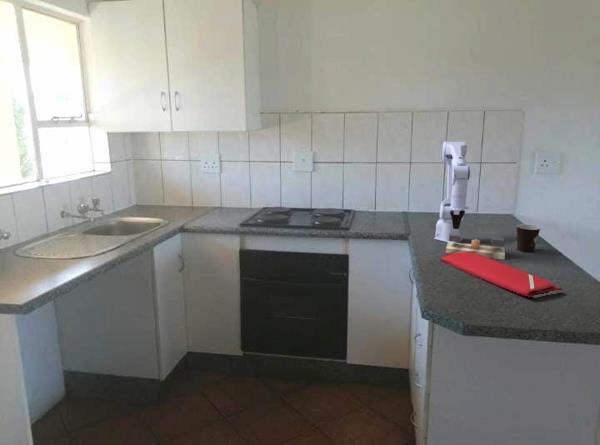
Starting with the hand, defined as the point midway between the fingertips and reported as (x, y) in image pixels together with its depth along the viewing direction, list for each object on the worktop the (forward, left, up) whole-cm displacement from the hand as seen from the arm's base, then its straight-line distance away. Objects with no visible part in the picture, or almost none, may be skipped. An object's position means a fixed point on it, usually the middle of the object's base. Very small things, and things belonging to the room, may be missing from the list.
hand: (456, 228), depth 191 cm
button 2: (+14, +8, -5) cm, 17 cm away
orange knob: (+7, +4, -7) cm, 11 cm away
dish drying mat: (+26, -15, -10) cm, 32 cm away
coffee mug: (+19, +25, -10) cm, 33 cm away
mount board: (+7, +4, -9) cm, 12 cm away
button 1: (0, 0, -5) cm, 5 cm away
